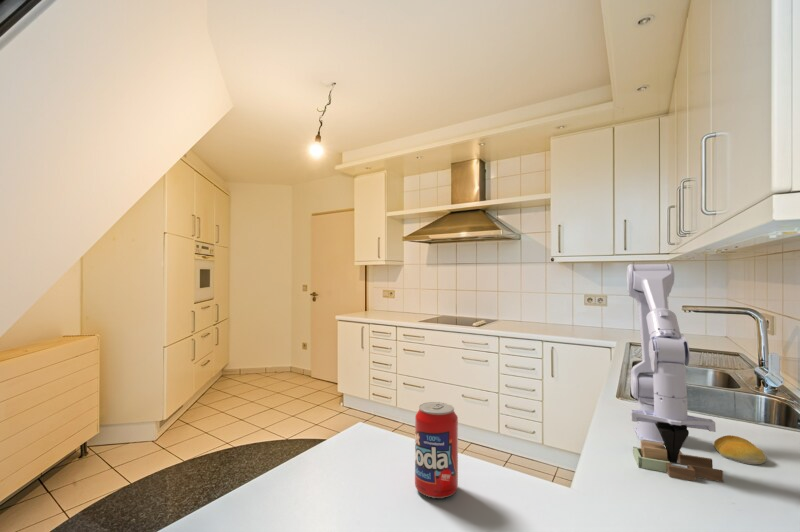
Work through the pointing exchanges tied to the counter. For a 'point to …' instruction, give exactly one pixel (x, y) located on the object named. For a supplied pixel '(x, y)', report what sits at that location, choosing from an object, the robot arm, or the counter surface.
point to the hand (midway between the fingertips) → (672, 460)
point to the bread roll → (739, 450)
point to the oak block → (653, 450)
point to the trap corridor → (695, 467)
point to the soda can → (436, 450)
